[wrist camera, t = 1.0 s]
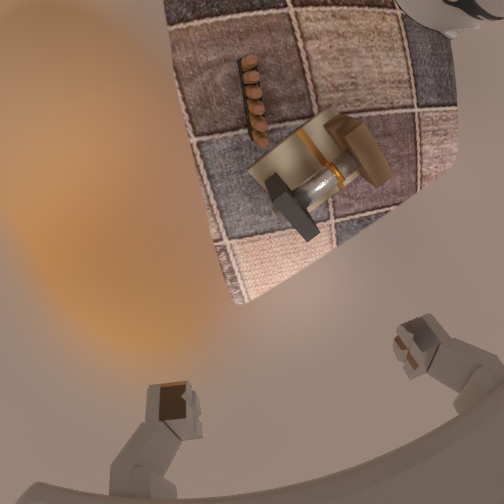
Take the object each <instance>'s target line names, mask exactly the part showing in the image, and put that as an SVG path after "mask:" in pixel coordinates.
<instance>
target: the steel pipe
mask: <svg viewBox="0 0 504 504" xmlns="http://www.w3.org/2000/svg"><path fill="white" fill-rule="evenodd" d="M360 167H361V166H360V163H359V162H358V160H357V159H356V157H355V156H354V155H353V154H352V153H351V152H350V151H349V150H348V149H346V150H345V151H344V152H342V153H341V154H340V155H338V156H337V157H336V158H334V159H333V160H332V161H331V160H330V161H328V162H327V163H326V164H325V166H324V167H322V168H321V169H320V170H318V171H317V172H316V173H315V174H313V175H312V176H311V177H309V178H308V179H307V180H305V181H304V182H303V183H302V184H300V185H299V186H298V187H296V188H295V189H294V190H292V191H291V192H290V194H291V196H292V197H293V198H294V199H295V201H296V202H297V203H298V204H299V205H300V207H301V208H302V209H303V210H305V209H306V208H307V207H309V206H310V205H311V204H313V203H314V202H315V201H317V200H318V199H319V198H321V197H322V196H323V195H325V194H326V193H327V192H328V191H330V190H331V189H332V188H334V187H335V186H336V185H338V184H339V183H340V184H341V183H342V182H344V181H345V179H346V178H347V177H348V176H350V175H351V174H352V173H354V172H355V171H356V170H358V169H359V168H360ZM272 209H273V211H274V212H275V214H276V215H277V216H278V218H279V219H280V220H281V221H282V222H283V223H284V224H286V223H288V222H289V221H288V220H287V219H286V218H285V217H284V215H283V214H282V213H281V212H280V211H279V210H278V209H277V208H276V207H275V205H273V206H272Z"/></svg>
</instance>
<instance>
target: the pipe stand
mask: <svg viewBox="0 0 504 504" xmlns="http://www.w3.org/2000/svg"><path fill="white" fill-rule="evenodd" d="M346 149H348V150H349V151H350V152H351V153H352V154H353V155H354V156H355V157H356V159H357V160H358V162H359V163H360V166H361V167H360V168H359V169H358V170H356V171H355V172H354V173H352V174H351V175H350V176H348V177H347V178H346V179H345V181H344V182H342V183H341V184H340V183H339V184H338V185H336V186H335V187H334V188H332V189H331V190H330V191H328V192H327V193H326V194H325V195H323V196H322V197H321V198H319V199H318V200H317V201H315V202H314V203H313V204H311V205H310V206H309V207H307V210H308V212H309V213H310V212H311V211H312V210H314V209H315V208H316V207H318V206H319V205H320V204H322V203H323V202H324V201H326V200H327V199H328V198H330V197H331V196H332V195H334V194H335V193H336V192H338V191H339V190H341V189H342V188H343V187H345V186H346V185H347V184H348V183H350V182H351V181H352V180H353V179H355V178H356V177H357V176H359V175H361V176H362V177H364V178H365V179H366V180H367V181H368V182H370V183H371V184H372V185H373V186H374V187H376V188H379V187H380V186H381V185H383V184H384V183H385V182H386V181H388V180H389V179H390V178H392V177H393V176H394V173H393V171H392V169H391V167H390V165H389V163H388V162H387V160H386V158H385V156H384V155H383V153H382V151H381V149H380V148H379V146H378V144H377V142H376V141H375V139H374V137H373V136H372V134H371V133H370V131H369V129H368V128H367V126H366V125H365V123H364V122H362V121H359V120H357V119H354V118H351V117H348V116H345V115H342V114H339V112H338V111H337V110H336V108H335V107H334V106H333V105H332V104H330V105H329V106H327V107H326V108H325V109H323V110H322V111H320V112H319V113H318V114H316V115H315V116H314V117H312V118H311V119H310V120H308V121H307V122H306V123H304V124H303V125H302V126H300V127H299V128H298V129H297V130H295V131H294V132H293V133H291V134H290V135H289V136H287V137H286V138H285V139H284V140H282V141H281V142H280V143H278V144H277V145H276V146H275V147H273V148H272V149H271V150H270V151H268V152H267V153H266V154H265V155H263V156H262V157H261V158H260V159H259V160H257V161H256V162H255V163H254V164H252V165H251V166H250V167H249V168H248V169H247V171H248V172H249V173H250V174H251V175H252V176H253V178H254V179H255V180H256V181H257V182H258V183H259V184H260V185H261V186H262V187H263V188H264V190H265V191H266V192H267V193H268V191H267V188H266V185H265V182H264V181H265V180H267V179H268V178H269V177H270V176H272V175H273V174H274V173H275V172H276V173H277V174H278V175H279V176H280V177H281V178H282V180H283V181H284V182H285V183H286V184H287V186H288V187H289V188H290V189H291V190H294V189H295V188H296V187H298V186H299V185H300V184H302V183H303V182H304V181H305V180H307V179H308V178H309V177H311V176H312V175H313V174H315V173H316V172H317V171H318V170H320V169H321V168H322V167H324V166H325V164H326V163H327V162H328V161H330V160H331V161H332V160H333V159H334V158H336V157H337V156H338V155H340V154H341V153H342V152H344V151H345V150H346ZM268 194H269V193H268Z"/></svg>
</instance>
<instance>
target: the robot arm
mask: <svg viewBox="0 0 504 504" xmlns="http://www.w3.org/2000/svg"><path fill="white" fill-rule="evenodd" d="M396 2H397V3H398V5H399V6H400V7H401V8H402V9H403V10H404V12H405V13H406V14H407V15H409V16H410V17H411V18H412V19H413V20H415V21H416V22H418V23H419V24H421V25H423V26H425V27H427V28H430V29H434V30H437V31H439V32H441V33H442V34H443V35H444V36H446V37H447V38H449V39H451V40H452V39H456V38H457V37H458V36H459V35H460V34H461V33H462V32H463V31H464V30H473V29H478V28H479V26H480V25H481V24H482V23H483V21H484V20H487V21H495V20H501V19H504V0H396ZM396 332H397V334H398V335H397V336H396V338H395V339H394V342H393V350H394V353H395V355H396V357H397V359H398V360H399V361H401V362H403V363H404V365H403V369H404V370H405V372H406V374H407V375H408V377H409V378H410V380H411V379H414V378H416V377H418V376H420V375H422V374H425V373H427V374H428V375H430V376H431V377H433V378H435V379H436V380H438V381H440V382H441V383H443V384H444V385H446V386H448V387H449V388H451V389H453V390H454V391H456V392H458V393H459V395H458V396H457V398H456V399H455V400H454V403H453V406H454V407H455V409H456V411H457V413H458V414H459V415H458V416H456V417H454V418H453V419H451V420H450V421H448V422H446V423H445V424H443V425H441V426H440V427H438V428H436V429H434V430H432V431H431V432H429V433H427V434H425V435H423V436H421V437H419V438H418V439H416V440H414V441H412V442H410V443H408V444H406V445H404V446H401V447H399V448H397V449H395V450H393V451H390V452H388V453H386V454H384V455H382V456H379V457H377V458H374V459H372V460H369V461H367V462H364V463H362V464H359V465H356V466H354V467H351V468H348V469H345V470H342V471H339V472H336V473H333V474H329V475H326V476H323V477H319V478H316V479H312V480H309V481H305V482H301V483H297V484H293V485H289V486H284V487H279V488H275V489H269V490H264V491H258V492H252V493H246V494H238V495H231V496H221V497H209V498H192V499H177V490H176V486H175V485H174V484H173V483H171V482H170V481H168V480H166V479H165V478H163V477H164V475H165V473H166V471H167V469H168V467H169V465H170V464H171V462H172V460H173V458H174V456H175V454H176V452H177V450H178V449H179V447H180V445H181V443H182V441H184V440H192V439H200V438H203V436H202V423H201V422H200V420H199V419H198V417H199V416H200V414H201V408H200V404H199V399H198V396H197V394H196V392H195V391H193V390H191V384H190V383H189V381H182V382H174V383H164V384H155V385H149V387H148V389H147V402H146V416H145V422H144V423H141V424H140V426H139V427H138V428H137V430H136V431H135V432H134V434H133V435H132V437H131V438H130V439H129V441H128V442H127V443H126V445H125V446H124V447H123V449H122V450H121V451H120V453H119V454H118V456H117V457H116V458H115V460H114V461H113V462H112V464H111V467H110V485H109V495H103V494H95V493H89V492H83V491H78V490H72V489H68V488H63V487H59V486H54V485H51V484H47V483H43V482H35V483H34V484H32V485H31V486H30V487H29V488H28V489H27V490H26V491H25V492H24V493H23V494H22V495H21V496H20V498H19V499H18V500H17V502H16V504H504V365H503V364H502V362H501V361H500V360H499V358H498V357H497V356H496V355H494V354H492V353H489V352H487V351H485V350H482V349H480V348H478V347H475V346H473V345H471V344H468V343H466V342H464V341H461V340H459V339H456V338H451V337H450V336H449V335H448V333H447V332H446V331H445V330H444V329H443V327H442V326H441V325H440V324H439V322H438V321H437V320H436V319H435V318H434V317H433V316H432V314H430V313H428V314H425V315H423V316H421V317H417V318H415V319H413V320H410V321H408V322H406V323H403V324H401V325H399V326H398V327H397V330H396Z"/></svg>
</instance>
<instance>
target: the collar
mask: <svg viewBox="0 0 504 504" xmlns="http://www.w3.org/2000/svg"><path fill="white" fill-rule="evenodd" d="M264 182H265V185H266V188H267V191H268V193H269V196H270V199H271V202H272V203H273V204H274V205H275V207H276V208H277V209H278V210H279V211H280V212H281V213H282V214H283V215H284V217H285V218H286V219H287V220H288V221H289V222H290V223H291V224H292V226H293V227H294V228H295V229H296V230H297V231H298V232H299V234H300V235H301V236H302V237H303V238H304V239H305V240H306V242H308V241H310V240H311V239H312V238H314V237H315V236H317V235H318V234H319V233H320V231H319V229H318V228H317V226H316V224H315V222H314V220H313V219H312V217H311V215H310V213H309V212H308V210H307V208H306V209H305V210H303V209H302V208H301V207H300V205H299V204H298V203H297V202H296V201H295V199H294V198H293V197H292V196H291V194H290V192H291V191H292V190H291V189H290V188H289V187H288V186H287V184H286V183H285V182H284V181H283V180H282V178H281V177H280V176H279V175H278V174H277V173H276V172H275V173H274V174H273V175H272V176H270V177H269V178H268V179H267V180H265V181H264Z"/></svg>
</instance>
